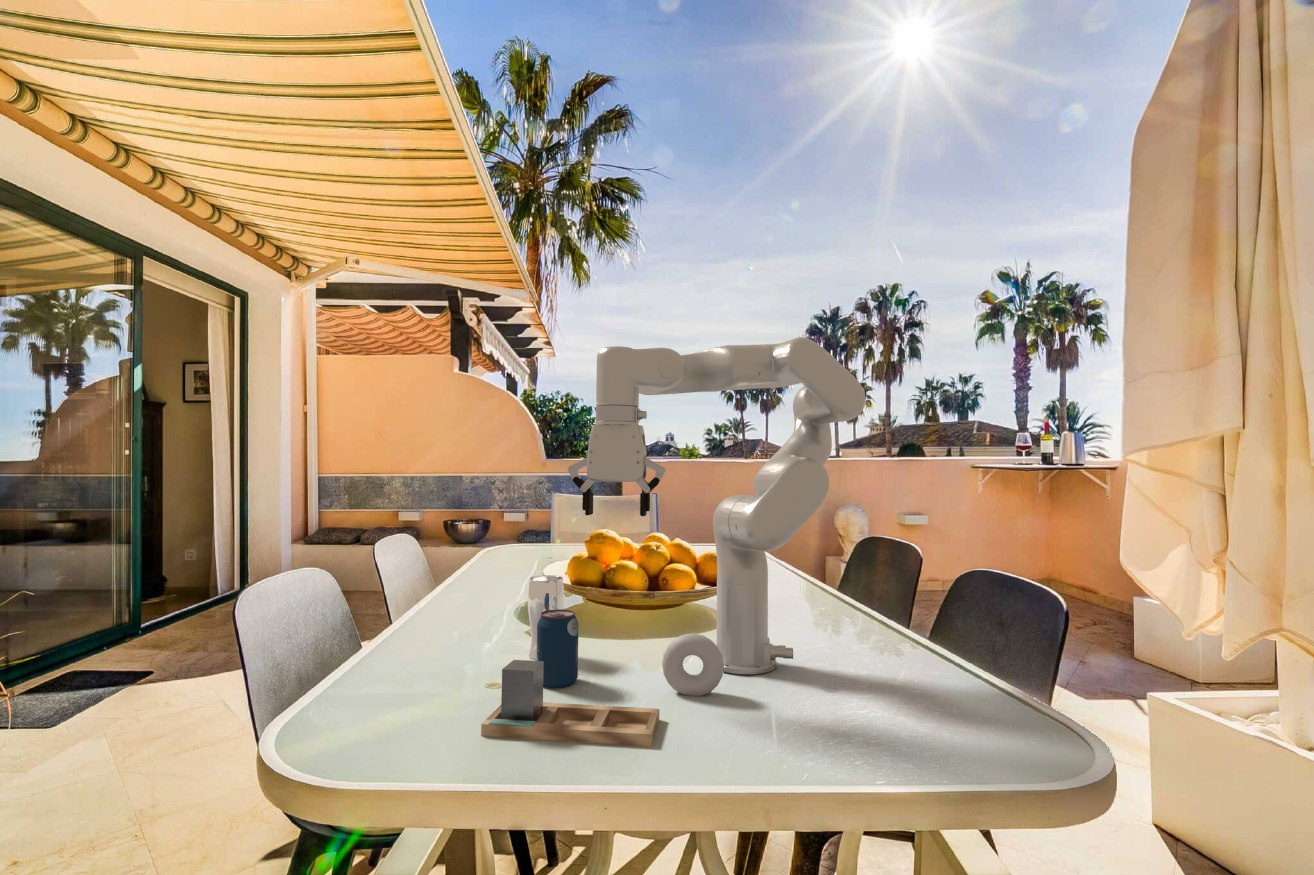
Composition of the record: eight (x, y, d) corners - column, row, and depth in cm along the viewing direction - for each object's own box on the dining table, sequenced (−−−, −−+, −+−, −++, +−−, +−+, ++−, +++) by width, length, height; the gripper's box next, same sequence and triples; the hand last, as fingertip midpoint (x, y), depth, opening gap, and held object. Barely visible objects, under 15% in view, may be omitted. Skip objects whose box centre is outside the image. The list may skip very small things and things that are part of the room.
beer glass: (559, 661, 121) (560, 581, 121) (522, 660, 121) (524, 580, 121) (565, 651, 128) (566, 575, 128) (530, 650, 128) (532, 574, 128)
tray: (659, 722, 92) (659, 707, 92) (650, 750, 83) (651, 732, 83) (505, 713, 95) (505, 698, 95) (480, 739, 86) (481, 722, 86)
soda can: (586, 685, 108) (587, 612, 108) (553, 695, 102) (554, 619, 103) (560, 675, 112) (561, 606, 113) (527, 685, 107) (528, 612, 108)
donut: (660, 698, 102) (661, 634, 102) (663, 691, 105) (663, 629, 105) (723, 702, 100) (723, 637, 101) (724, 694, 104) (724, 632, 104)
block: (542, 717, 92) (543, 661, 92) (532, 730, 87) (533, 670, 88) (512, 715, 92) (513, 659, 93) (500, 728, 88) (502, 669, 88)
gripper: (668, 419, 115) (667, 514, 114) (574, 419, 117) (573, 513, 116) (663, 415, 108) (662, 517, 107) (563, 416, 110) (562, 515, 109)
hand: (616, 515), depth 112 cm, fingers open, 9 cm apart
